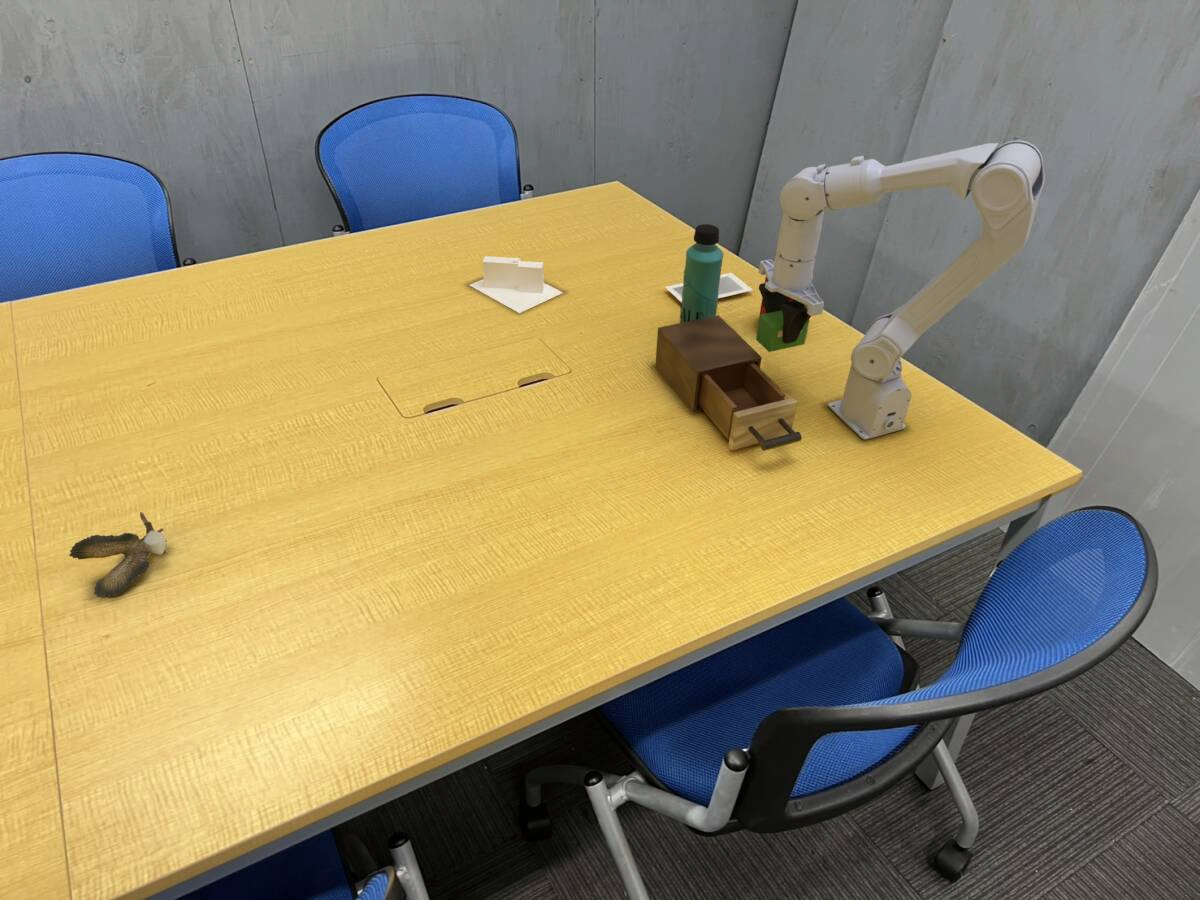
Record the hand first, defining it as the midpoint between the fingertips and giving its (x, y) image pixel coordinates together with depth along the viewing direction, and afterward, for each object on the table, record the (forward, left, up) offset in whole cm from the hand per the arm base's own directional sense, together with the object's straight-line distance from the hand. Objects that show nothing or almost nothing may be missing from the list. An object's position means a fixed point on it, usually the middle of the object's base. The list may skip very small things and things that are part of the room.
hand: (781, 334), depth 126 cm
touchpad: (+31, -5, -10) cm, 32 cm away
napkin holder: (+46, +29, -10) cm, 55 cm away
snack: (0, 0, -1) cm, 1 cm away
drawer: (-9, +10, -9) cm, 16 cm away
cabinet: (+5, +10, -10) cm, 15 cm away
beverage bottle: (+19, +4, -10) cm, 21 cm away
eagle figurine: (-5, +95, -10) cm, 96 cm away
